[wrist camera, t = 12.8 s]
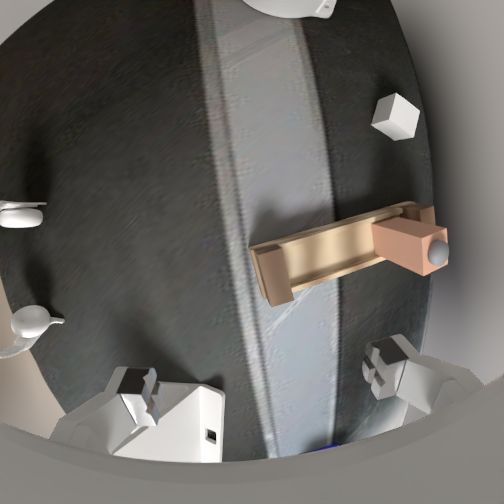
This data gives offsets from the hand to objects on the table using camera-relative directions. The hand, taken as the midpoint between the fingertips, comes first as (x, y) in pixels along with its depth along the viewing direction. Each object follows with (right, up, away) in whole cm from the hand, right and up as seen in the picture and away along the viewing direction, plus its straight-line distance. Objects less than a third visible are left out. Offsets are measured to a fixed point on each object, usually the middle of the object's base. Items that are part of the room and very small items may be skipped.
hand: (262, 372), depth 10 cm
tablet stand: (-15, -29, +34) cm, 47 cm away
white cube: (+21, +25, +27) cm, 42 cm away
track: (+13, +6, +30) cm, 33 cm away
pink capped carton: (+19, +7, +28) cm, 35 cm away
